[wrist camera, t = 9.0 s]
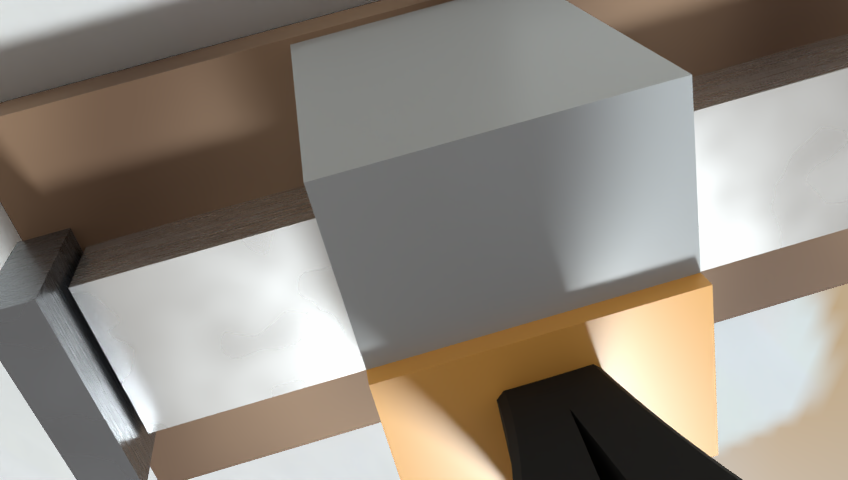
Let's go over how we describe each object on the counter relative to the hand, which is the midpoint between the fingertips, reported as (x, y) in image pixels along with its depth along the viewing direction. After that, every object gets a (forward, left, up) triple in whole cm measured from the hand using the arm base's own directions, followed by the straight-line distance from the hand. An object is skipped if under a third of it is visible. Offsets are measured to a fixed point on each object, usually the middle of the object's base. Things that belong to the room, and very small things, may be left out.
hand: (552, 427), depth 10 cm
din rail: (-1, 0, -7) cm, 7 cm away
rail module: (0, 0, -6) cm, 6 cm away
